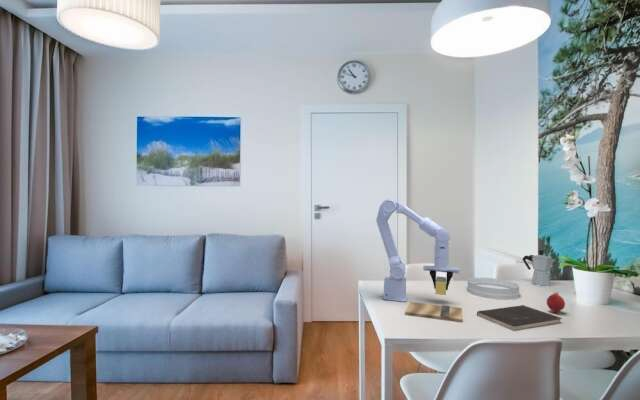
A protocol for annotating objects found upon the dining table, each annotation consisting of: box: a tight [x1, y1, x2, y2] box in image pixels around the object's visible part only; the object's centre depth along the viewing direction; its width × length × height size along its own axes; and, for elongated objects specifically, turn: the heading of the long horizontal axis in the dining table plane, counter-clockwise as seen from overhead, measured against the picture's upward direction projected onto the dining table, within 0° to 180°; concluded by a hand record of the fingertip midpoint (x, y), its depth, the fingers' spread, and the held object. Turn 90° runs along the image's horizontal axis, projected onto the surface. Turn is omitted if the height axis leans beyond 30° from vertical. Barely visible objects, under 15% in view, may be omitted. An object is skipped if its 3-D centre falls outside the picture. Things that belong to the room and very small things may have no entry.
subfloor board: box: [404, 301, 464, 323], centre depth 131 cm, size 20×14×1 cm
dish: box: [466, 277, 520, 301], centre depth 160 cm, size 22×22×5 cm
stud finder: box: [435, 276, 447, 296], centre depth 144 cm, size 4×7×6 cm, turn 158°
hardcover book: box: [476, 304, 563, 331], centre depth 125 cm, size 16×23×2 cm
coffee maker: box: [522, 249, 556, 287], centre depth 177 cm, size 15×9×18 cm, turn 46°
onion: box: [546, 291, 566, 313], centre depth 132 cm, size 6×6×8 cm
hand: (441, 288), depth 144 cm, fingers closed on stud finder, 4 cm apart
